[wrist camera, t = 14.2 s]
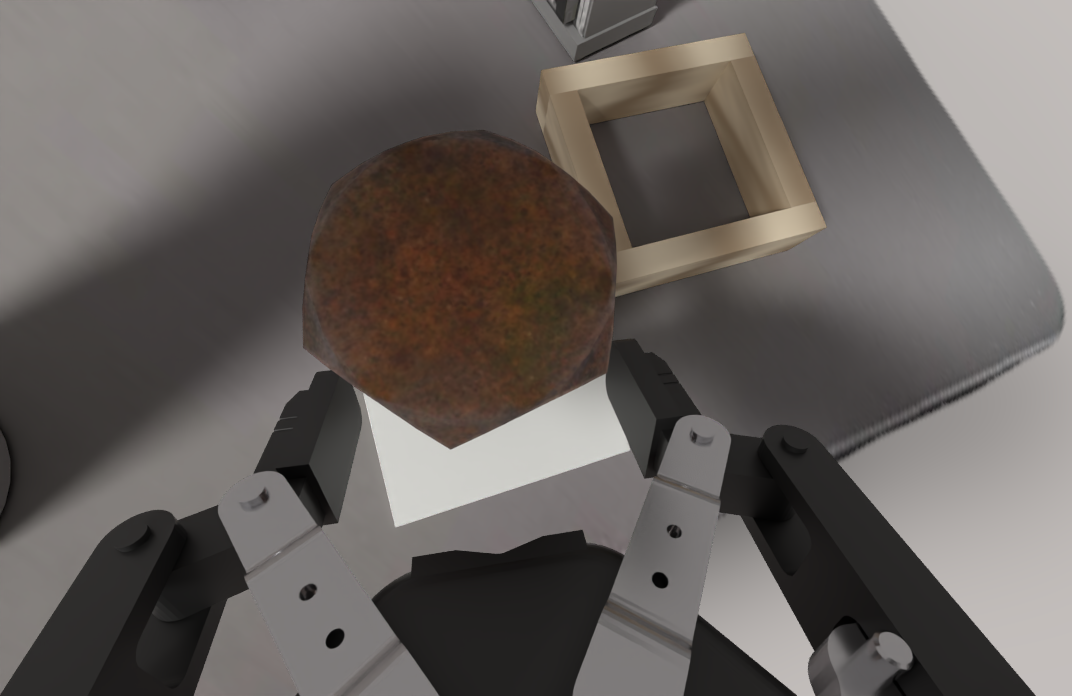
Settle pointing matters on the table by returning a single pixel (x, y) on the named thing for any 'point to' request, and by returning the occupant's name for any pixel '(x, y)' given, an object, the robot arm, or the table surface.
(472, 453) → the pad
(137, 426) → the table surface
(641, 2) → the cassette tape recorder
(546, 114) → the wooden frame
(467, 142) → the bolt
